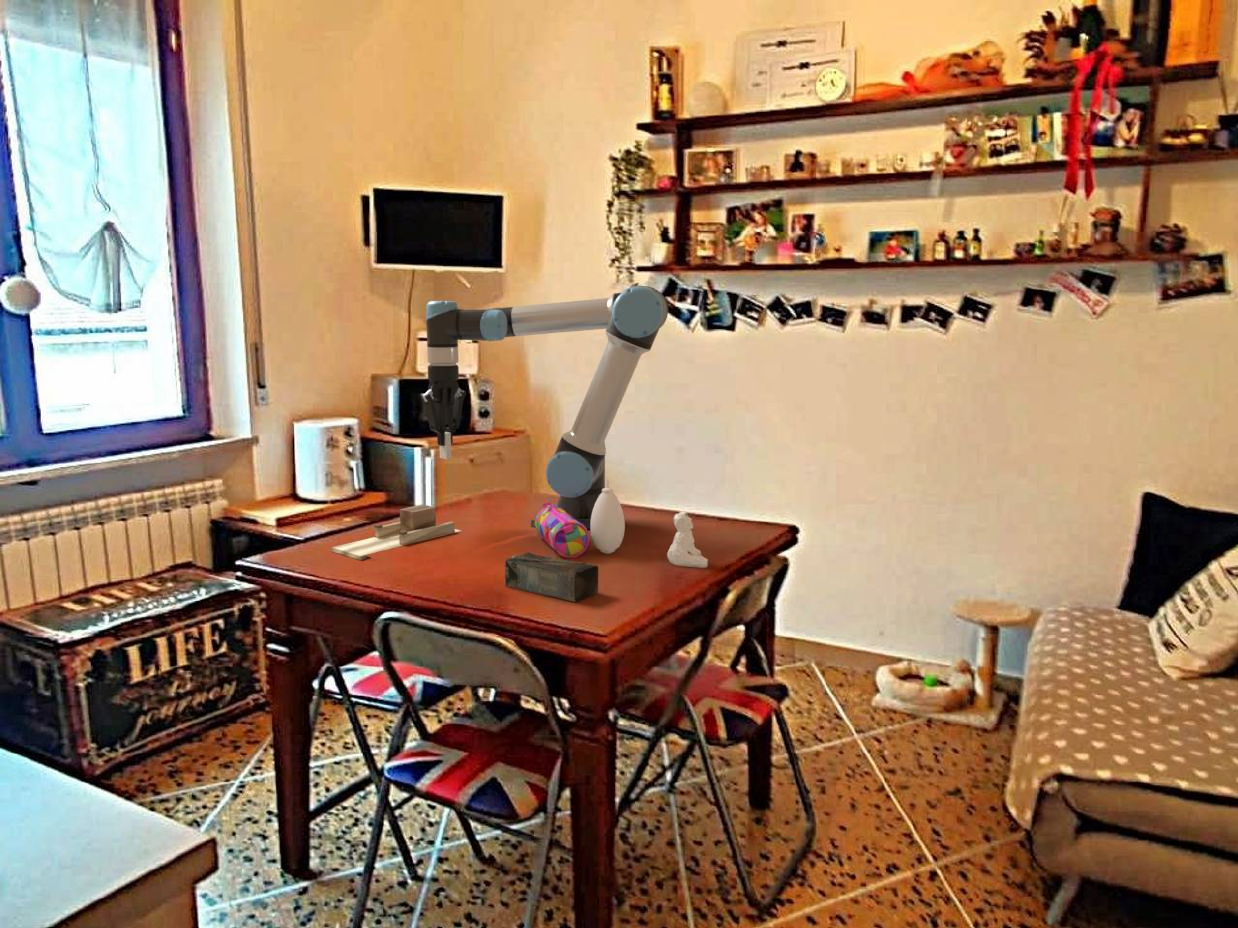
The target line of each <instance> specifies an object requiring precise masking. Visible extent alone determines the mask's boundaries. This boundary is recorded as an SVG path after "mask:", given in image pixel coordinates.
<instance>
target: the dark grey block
mask: <svg viewBox="0 0 1238 928" xmlns="http://www.w3.org/2000/svg"><path fill="white" fill-rule="evenodd" d="M504 566H505V569H504V581H505V586H506V587H509V588H513V589H517V590H521V591H524V592H530V593H535V594H539V595H544V596H548V597H552V598H557V599H561V600H565V601H569V602H574V603H578V602H579V601H581V600H584V599H587V598H591V597H593V596H595V595H598V594H599V566H598V565H595V564H589V563H587V562H578V561H575V560H568V559H562V558H558V557H552V556H546V555H541V554H536V553H534V552H533V553H532V552H524V553H522V554H515V555H512V556H511V557H509V558H507V559H505V560H504Z"/></svg>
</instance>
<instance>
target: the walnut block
mask: <svg viewBox="0 0 1238 928" xmlns="http://www.w3.org/2000/svg"><path fill="white" fill-rule="evenodd" d="M436 512H437V511H436V507H435V506H430V505H426V504H418V505H414V506H408V507H404V508H401V509H400V508H399V522H400V527H401V531H403V530H404V531H407V532H410V531H414V530H418V529H423V528H427V527H431V526H435V525H437V518H436V517H437V515H436Z"/></svg>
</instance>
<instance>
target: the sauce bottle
mask: <svg viewBox="0 0 1238 928" xmlns="http://www.w3.org/2000/svg"><path fill="white" fill-rule="evenodd" d="M609 485H610V484H609V477H607V478H606V484H605V488H603V489H602V493H601V494H600V495H599V497H598V499H597V500H596V503H595V505H594V508H593V511H592V515H591V523H590V529H589V530H590V537H591V540H592V542H593V544H594V547H595V548H596V549H599V552H601V553H603V554H605V555H610V554H612V553H614V552H616V550H617V549H619V548H620V546H621V544H622V542H623V540H624V536H625V530H626V527H625V526H626V523H625V515H624V512H623V508H622V506H621V502H620V500H619V498H618V497H617V495H616V494H615V493H614V489H613V488H611V487H609Z"/></svg>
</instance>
